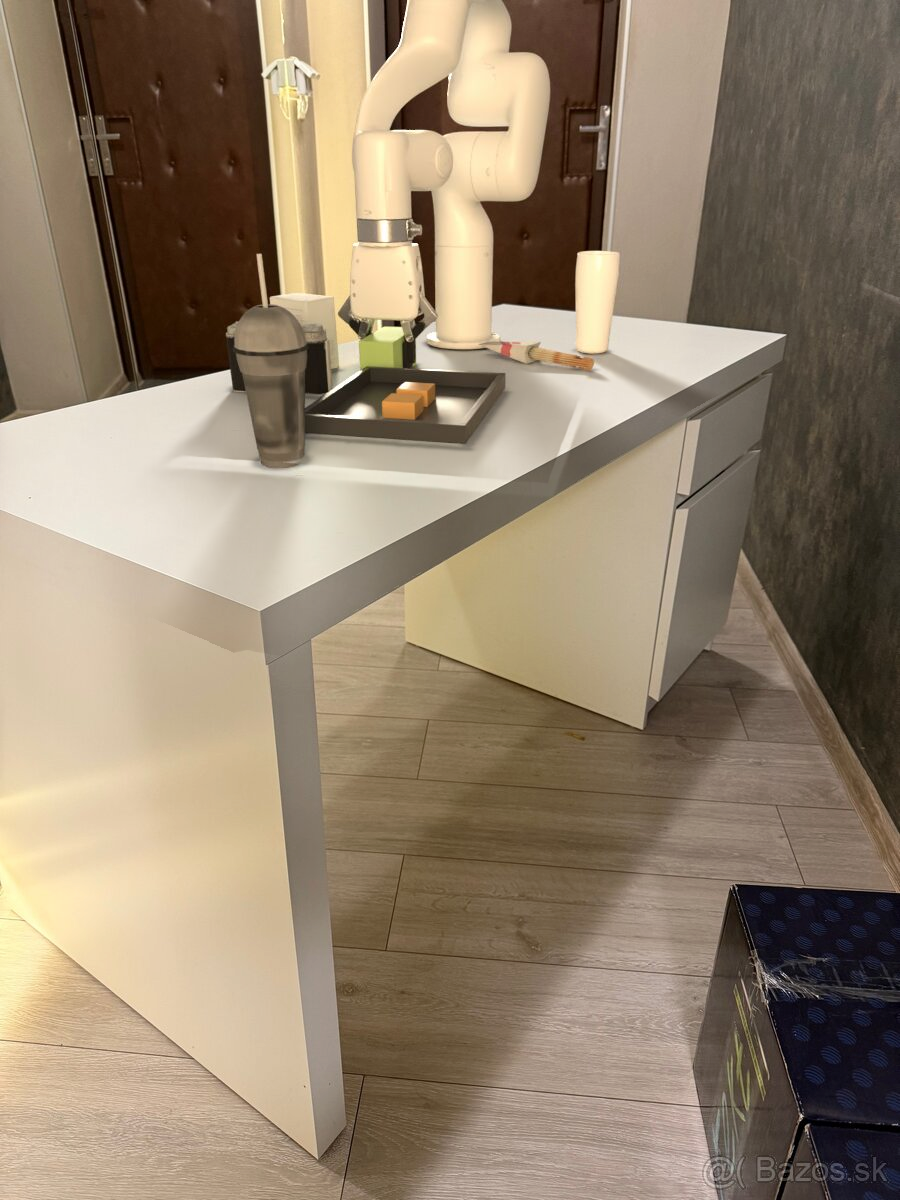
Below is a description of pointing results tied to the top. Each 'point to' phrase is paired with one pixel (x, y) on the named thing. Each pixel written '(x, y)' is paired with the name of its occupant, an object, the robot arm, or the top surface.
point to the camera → (316, 367)
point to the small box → (313, 315)
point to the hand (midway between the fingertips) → (389, 365)
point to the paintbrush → (538, 354)
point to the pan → (442, 421)
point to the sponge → (383, 348)
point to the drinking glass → (595, 299)
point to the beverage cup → (273, 378)
